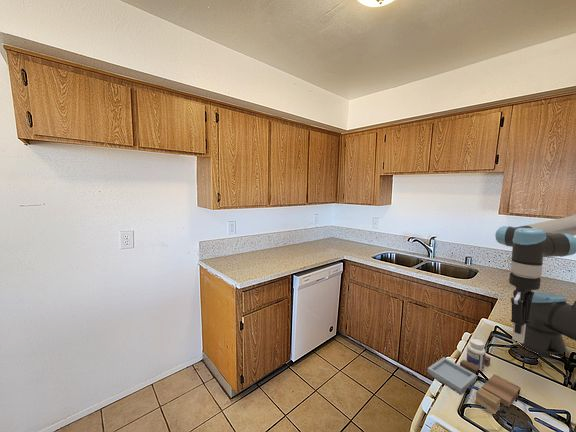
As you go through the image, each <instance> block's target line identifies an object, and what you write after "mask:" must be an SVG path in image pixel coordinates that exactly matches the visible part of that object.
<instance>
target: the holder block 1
mask: <svg viewBox="0 0 576 432" xmlns="http://www.w3.org/2000/svg"><path fill="white" fill-rule="evenodd" d="M459 366H461V367H463V368H465V369H467V370H469V371H470V372H472V373H474V374H476V372H477V371H478V370H479V367H477V366H475V365H473V364H471V363H469V362H467V360H466V359H464V358H463V359H462V360H461V361H460V362H459Z"/></svg>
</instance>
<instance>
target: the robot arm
mask: <svg viewBox="0 0 576 432" xmlns="http://www.w3.org/2000/svg"><path fill="white" fill-rule="evenodd" d="M494 234H495V240H496V242H498V243H499V244H500V245H504V246H506V247H511V248H512V250H511V261H510V262H508V264H509V265H510V273H509V277H508V278H509V279H508V283H509V285H511V286H513V287H515V289H514V290H513V297H511V298H510V301H511V319H510V322H511V323H513V327H512V328H513V329H512V336H511V337H512V338H511V340H513V341H515V342H516V341H517V342H519V343H520V344H521V345H522V346H524V347H526V348H528V349H530V350H532V351H534V352H536V353H538V354H539V355H538V356H540V357H544V358H548V359H552V358H551V357H550V356H549V355H550V354H551V355H552V354H554V355H555V354H561V355H563V354H564V352H565V355H566V356H567V346H566V344H565V341H564V338H563V336H565V337H567V338H569V339H571V340H573V341H575V342H576V299H575V300H574V302H573V304H570V303H567V302H568V300H567V297H565V296H564V295H561V294H558V293H554V292H549V291H537V290H539V289H541V281H542V279H541V277H542V273H543V261H544V258H547V257H548V258H549V257H550V258H551V257H553V258H554V257H561V258H563V257H566V256H574V255H575V254H576V237H575V236H576V212H575V213H574V214H573V215H570V216H565V217H560V218H555V219H550V220H546V221H545V220H544V221H541V222H536V223H532V224H527V225H520V226H510V225H508V226H507V225H506V226H505V225H503V226H500V227H499V228H498V229H497V230H496V231H495V233H494Z"/></svg>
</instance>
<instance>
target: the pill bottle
mask: <svg viewBox="0 0 576 432" xmlns="http://www.w3.org/2000/svg"><path fill="white" fill-rule="evenodd" d="M469 342H470V343H469V344H468V345H467V348H466V361H467V362H469V363H471V364H473V365H475V366H477V367H479V370H480V371H479V372H481V371H482V372H483V371H484V370H485V355H486V349H485V347H484V346H485V344H484V342H483V341H482V340H480V339H477V338H471V339H470V340H469Z"/></svg>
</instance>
